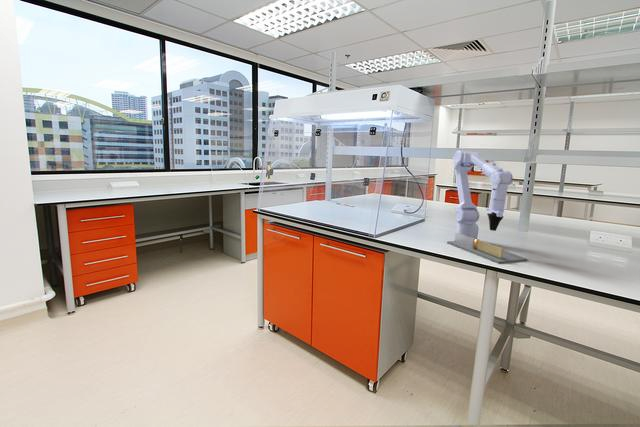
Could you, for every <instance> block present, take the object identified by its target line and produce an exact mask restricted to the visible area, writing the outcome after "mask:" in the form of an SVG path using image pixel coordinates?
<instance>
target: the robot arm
mask: <svg viewBox="0 0 640 427" xmlns="http://www.w3.org/2000/svg"><path fill="white" fill-rule="evenodd" d="M452 160H453V168H454V173H455V180H456V188H457V194H458V201H459V204H458V205H457V206H456V207H455V214H454V218H455V220H456V222H457V226H456V227H457V228H456V233H460V234H463V235H466V236H469V237H472V238H475V239H478V236H479V225H478V224H477V222H478V221H479V219H480V212H479V210H478V207H477V205H475V204H474V203H473V202H472V196H471V188H470V182H469V176H468V171H471V170H472V168H473V167H474V166H476V167H479V168H480V170H481V173H482V174H483V175H485V176H486V177H487V178H488V179H489V181H490V186H491V194H490V200H489V206H488V208H485V211H487V212H488V211H489V212H491V213H487V218H488V223H489V231H494V232H495V231H497V230H498V226H499V225H500V222H501V221H502V220H503V219H504V217H505V216H504V212H505V205H506V199H507V192H508V189H509V188H508V187H509V185H510V184H511V183H512V182H513V178H514V177H513V174H512V173H511V171H510V170H509V171H508V170H507V171H506V170H505V171H504V170H503V168H502V167H499V166H497V164H496V162H492V161H491V162H487V160H485V159H484V158H482V157H481V155H480V153H478V152H476V151H470V150H469V151H467V150H465V151H464V150H457V151H456V152H455V153H454V156H453V158H452ZM451 239H453V240H455V236H454V237H451Z"/></svg>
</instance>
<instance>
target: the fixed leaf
mask: <svg viewBox="0 0 640 427" xmlns="http://www.w3.org/2000/svg"><path fill="white" fill-rule="evenodd" d="M454 237H455V239H454V241H455V242H457V243H459V244H462V245H465V246H467V247H470V248H472V249H473V248H474V242H475V238H472V237H469V236H466V235H463V234H460V233H457V232H455V236H454Z"/></svg>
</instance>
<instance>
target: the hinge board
mask: <svg viewBox="0 0 640 427" xmlns="http://www.w3.org/2000/svg"><path fill="white" fill-rule="evenodd" d="M446 244H448V245H451V246H453V247H456V248H459V249H460V250H464V251H466V252H469V253H471V254H473V255H476V256H478V257H481V258H483V259H487V260H488V261H491V262H494V263H497V264H509V263H517V262H518V263H519V262H528V260H529V259H528V258H526V257H523V256H521V255H518V254H515V253H511V252H509V251H506V250H505V249H504V250H503V256H502V258H498V257H495V256H493V255H490V254H488V253H485V252H483V251H480V250H477V249H474V248H473V249H472V248H470V247H467V246H465V245H462V244H459V243H457V242H455V240H451V241H446Z"/></svg>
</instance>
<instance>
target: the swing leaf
mask: <svg viewBox="0 0 640 427" xmlns="http://www.w3.org/2000/svg"><path fill="white" fill-rule="evenodd" d="M474 249H477V250H480V251H483V252H485V253H488V254H490V255H493V256H495V257H498V258H502V256H503V250H504V251H505V249H504V248H503V247H500V246H498V245H494V244H492V243H489V242H486V241H484V240H481V239H478V238H477V239H475V242H474Z"/></svg>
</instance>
